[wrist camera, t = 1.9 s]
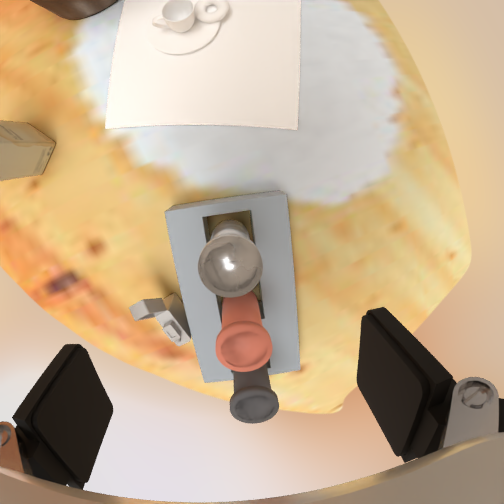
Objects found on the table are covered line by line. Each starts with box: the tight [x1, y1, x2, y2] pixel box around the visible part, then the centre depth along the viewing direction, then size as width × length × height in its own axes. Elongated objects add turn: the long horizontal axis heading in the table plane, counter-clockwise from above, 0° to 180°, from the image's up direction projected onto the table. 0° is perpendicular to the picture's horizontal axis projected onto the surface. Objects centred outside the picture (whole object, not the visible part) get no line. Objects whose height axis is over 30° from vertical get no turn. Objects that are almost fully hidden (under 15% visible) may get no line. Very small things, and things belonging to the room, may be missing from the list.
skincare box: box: [0, 120, 56, 181], centre depth 20 cm, size 6×4×12 cm
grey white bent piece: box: [129, 293, 191, 346], centre depth 29 cm, size 7×2×8 cm, turn 30°
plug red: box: [215, 291, 273, 372], centre depth 25 cm, size 4×4×8 cm
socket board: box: [165, 191, 300, 383], centre depth 31 cm, size 11×20×4 cm, turn 7°
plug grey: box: [198, 219, 263, 298], centre depth 23 cm, size 4×4×8 cm
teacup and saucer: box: [144, 0, 230, 55], centre depth 22 cm, size 9×8×4 cm
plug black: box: [230, 363, 279, 423], centre depth 27 cm, size 4×4×8 cm
